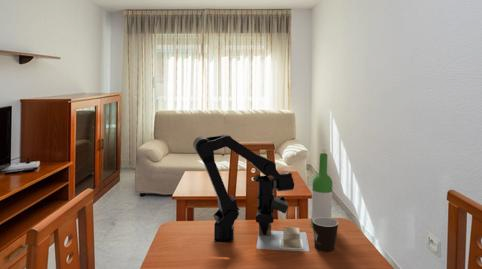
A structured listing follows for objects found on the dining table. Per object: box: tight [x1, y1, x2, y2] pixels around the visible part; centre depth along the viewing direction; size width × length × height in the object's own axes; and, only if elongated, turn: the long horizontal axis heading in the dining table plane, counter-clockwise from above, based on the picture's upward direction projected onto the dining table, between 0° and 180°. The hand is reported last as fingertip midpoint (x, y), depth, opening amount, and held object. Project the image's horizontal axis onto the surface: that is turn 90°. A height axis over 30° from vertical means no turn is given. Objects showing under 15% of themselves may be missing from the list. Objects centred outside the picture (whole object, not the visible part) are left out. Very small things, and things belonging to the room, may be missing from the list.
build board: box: [256, 230, 311, 252], centre depth 129 cm, size 18×16×1 cm
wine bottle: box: [310, 152, 333, 228], centre depth 140 cm, size 8×8×30 cm
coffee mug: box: [312, 217, 339, 253], centre depth 124 cm, size 12×9×10 cm
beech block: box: [282, 226, 301, 248], centre depth 125 cm, size 6×6×5 cm
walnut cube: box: [258, 223, 272, 236], centre depth 134 cm, size 4×4×4 cm
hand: (265, 231), depth 134 cm, fingers closed on walnut cube, 4 cm apart
